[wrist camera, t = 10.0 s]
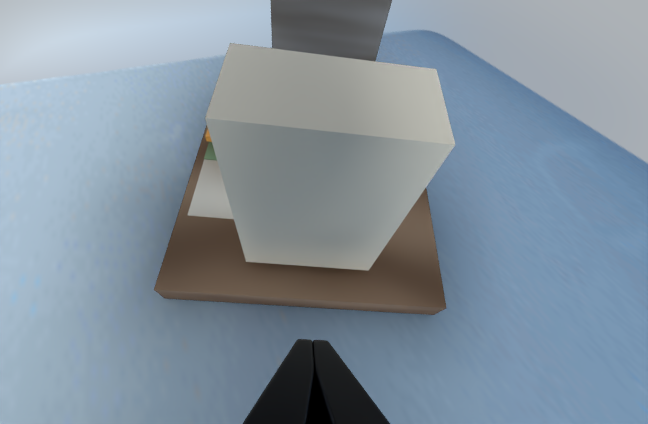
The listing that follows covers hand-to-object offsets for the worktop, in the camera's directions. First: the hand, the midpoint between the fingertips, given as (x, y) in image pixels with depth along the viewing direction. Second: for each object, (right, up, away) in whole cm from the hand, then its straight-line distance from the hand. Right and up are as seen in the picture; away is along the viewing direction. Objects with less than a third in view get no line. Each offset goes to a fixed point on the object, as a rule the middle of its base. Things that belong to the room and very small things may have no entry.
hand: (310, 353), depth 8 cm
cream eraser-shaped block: (0, +4, +8) cm, 9 cm away
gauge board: (0, +7, +12) cm, 14 cm away
